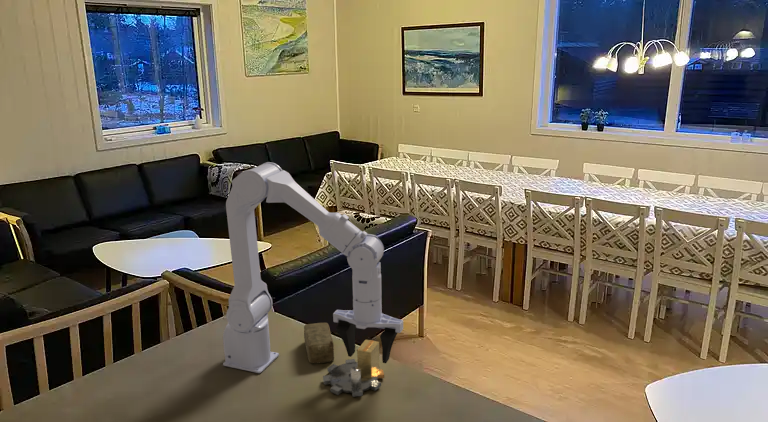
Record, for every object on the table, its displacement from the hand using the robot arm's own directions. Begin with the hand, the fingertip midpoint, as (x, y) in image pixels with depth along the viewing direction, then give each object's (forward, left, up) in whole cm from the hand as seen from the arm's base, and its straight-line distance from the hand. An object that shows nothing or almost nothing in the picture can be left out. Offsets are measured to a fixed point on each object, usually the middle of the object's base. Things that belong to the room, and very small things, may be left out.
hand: (368, 357), depth 112 cm
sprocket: (-2, -2, -4) cm, 6 cm away
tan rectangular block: (0, 0, -3) cm, 3 cm away
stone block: (-14, +6, -5) cm, 16 cm away
